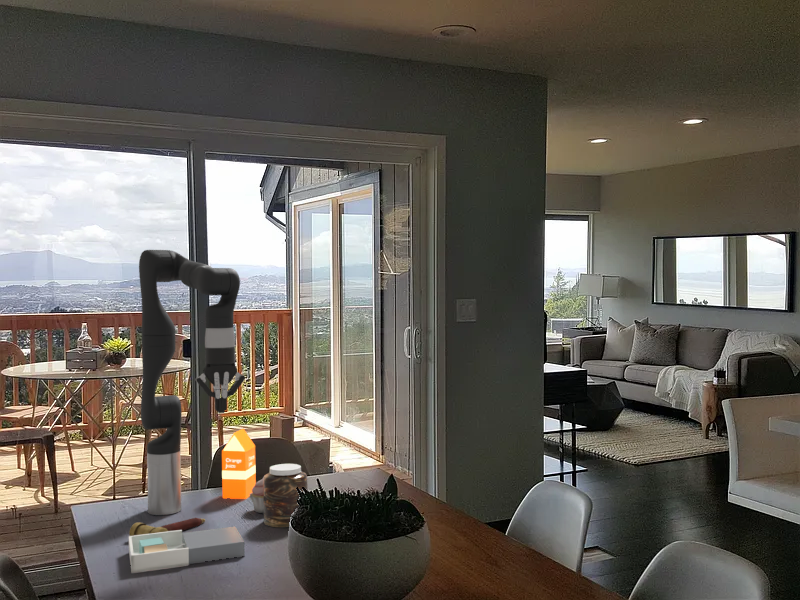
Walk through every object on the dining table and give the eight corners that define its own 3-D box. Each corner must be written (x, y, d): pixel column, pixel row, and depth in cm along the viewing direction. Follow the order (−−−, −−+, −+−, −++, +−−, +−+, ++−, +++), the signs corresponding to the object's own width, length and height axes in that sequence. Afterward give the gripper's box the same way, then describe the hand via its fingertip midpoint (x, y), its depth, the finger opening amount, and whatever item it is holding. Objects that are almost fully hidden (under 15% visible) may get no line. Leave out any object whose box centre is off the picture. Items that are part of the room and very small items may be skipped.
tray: (128, 552, 186) (128, 536, 186) (182, 545, 191) (181, 529, 191) (131, 573, 172) (131, 555, 172) (188, 565, 177) (188, 548, 177)
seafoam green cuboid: (160, 537, 186) (161, 549, 186) (139, 540, 184) (139, 552, 184) (164, 543, 182) (164, 555, 182) (142, 546, 180) (142, 559, 180)
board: (182, 546, 190) (182, 532, 190) (235, 540, 195) (235, 526, 195) (188, 564, 178) (188, 549, 178) (244, 556, 183) (244, 541, 183)
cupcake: (265, 504, 228) (265, 470, 228) (288, 509, 222) (288, 474, 222) (242, 511, 220) (241, 476, 220) (265, 517, 215) (264, 481, 215)
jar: (290, 512, 218) (290, 460, 218) (316, 521, 210) (315, 466, 210) (255, 521, 210) (255, 467, 210) (280, 531, 202) (280, 474, 202)
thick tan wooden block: (166, 543, 181) (166, 556, 181) (144, 546, 180) (144, 559, 180) (167, 550, 177) (167, 563, 177) (144, 553, 175) (145, 566, 175)
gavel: (192, 509, 213) (217, 514, 208) (191, 525, 213) (217, 531, 207) (129, 523, 195) (155, 530, 190) (128, 542, 195) (154, 548, 190)
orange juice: (222, 498, 235) (221, 433, 234) (233, 490, 243) (232, 428, 243) (246, 499, 233) (245, 433, 233) (256, 491, 242) (255, 428, 242)
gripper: (243, 343, 203) (244, 408, 204) (191, 345, 198) (192, 412, 199) (248, 345, 196) (249, 413, 197) (195, 347, 191) (196, 416, 192)
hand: (220, 412), depth 198 cm, fingers closed
